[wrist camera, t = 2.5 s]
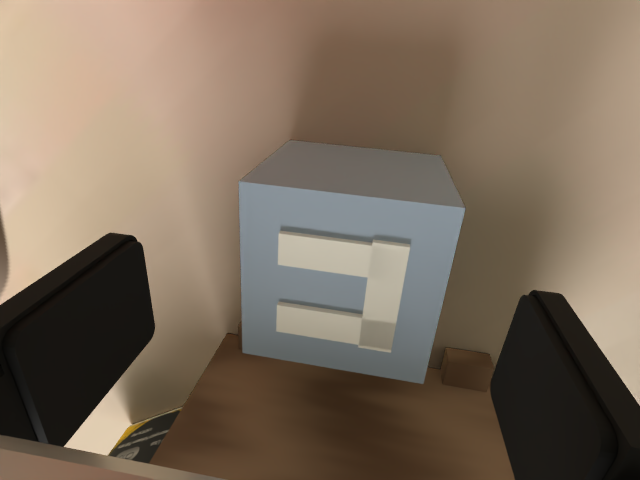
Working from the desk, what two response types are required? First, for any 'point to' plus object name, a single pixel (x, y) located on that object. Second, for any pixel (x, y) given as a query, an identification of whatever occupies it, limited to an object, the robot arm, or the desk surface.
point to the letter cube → (346, 257)
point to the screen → (336, 422)
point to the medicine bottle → (144, 438)
